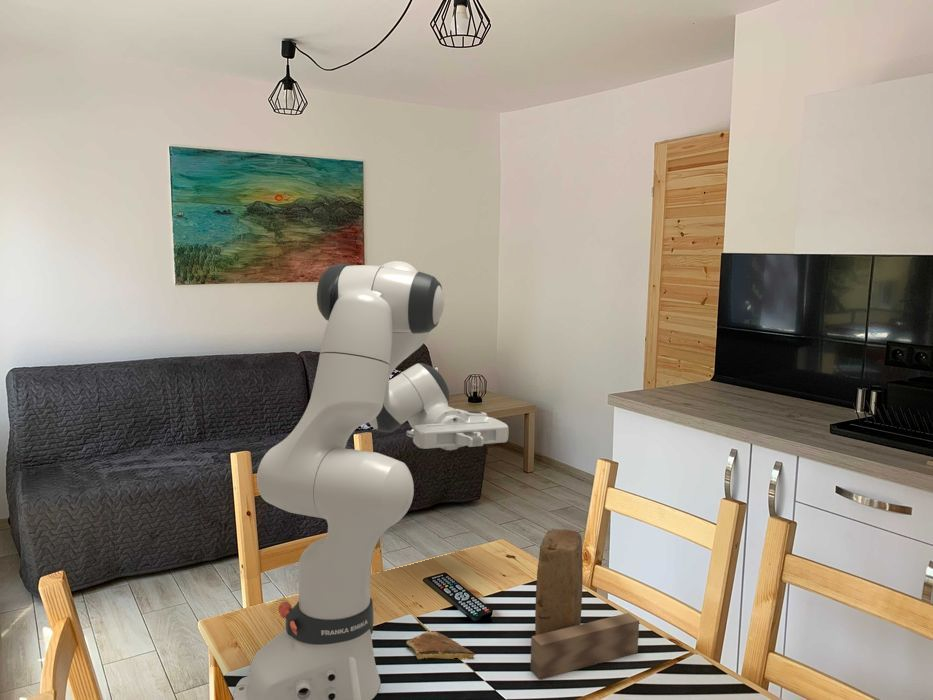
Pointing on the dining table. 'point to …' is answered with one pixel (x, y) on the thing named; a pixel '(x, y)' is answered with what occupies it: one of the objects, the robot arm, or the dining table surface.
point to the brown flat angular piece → (438, 647)
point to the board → (584, 645)
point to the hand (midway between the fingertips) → (477, 442)
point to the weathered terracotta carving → (559, 581)
